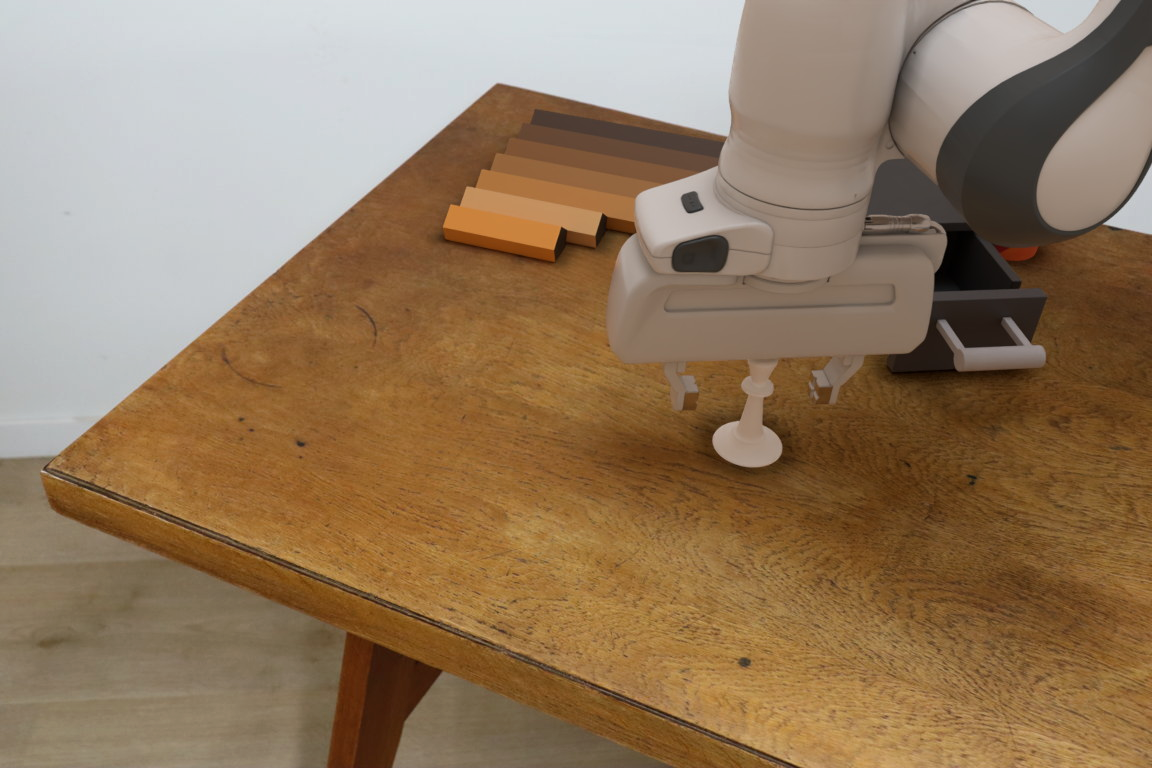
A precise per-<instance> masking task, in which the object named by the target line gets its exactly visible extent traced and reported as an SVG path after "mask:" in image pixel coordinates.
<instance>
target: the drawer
mask: <svg viewBox="0 0 1152 768" xmlns="http://www.w3.org/2000/svg"><path fill="white" fill-rule="evenodd" d="M945 232H946V236H947V246H946V249H945V253H944V256H943V260H942V263H941V265H940V267H939V269H938V270H937V271H936V272H935V273H934V293H933V303H932V309H931V316H930V321H929V326H928V330H927V334H926V337H925V340H924V341H923V342H922V343H921V344H920V345H919V346H917V347H916V348H915V349H914V350H913V351H911V352H910V353H906V354H888V355H887V361H886V364H887V366H888V368H889V369H890V371H891V373H902V372H923V371H924V372H925V371H926V372H927V371H947V370H956V371H957V372H961V373H962V372H979V371H999V370H1000V371H1003V370H1004V371H1005V370H1024V369H1025V370H1026V369H1041V368H1043V367H1044V366H1045V364H1046V361H1047V352H1046V350H1045V348H1044V346H1043V345H1041V344H1032V341H1033V340H1034V339H1033V338H1034V336H1035V333H1036V330H1037V328H1038V325H1039V321H1040V319H1041V316H1042V314H1043V311H1044V309H1045V305H1046V302H1047V300H1048V295H1047V294H1046V293H1045V292H1044V290H1043V289H1042V288H1041V287H1031V288H1021V285H1022V283H1023V280H1022V279H1021V277H1020V276H1019V275H1018V274H1017V273H1016V272H1015V271H1016V270H1014V269H1013V268H1012V267H1011V265H1010V264H1009V262H1008V261H1007V260H1005V259H1004V258H1003V257H1002V256H1001V254H1000V253H999V252H998V251H997V250H996V248H995V247H994V246H993V245H992V244H991V243H990V242H988V241H986V240H984V239H982V238H981V237H980V236H978V235H977V234H976V233H975V232H974V231H945Z"/></svg>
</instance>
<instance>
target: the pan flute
mask: <svg viewBox="0 0 1152 768" xmlns="http://www.w3.org/2000/svg"><path fill="white" fill-rule="evenodd" d="M724 144H725V141H720V140H713V139H708V138H702V137H697V136H690V135H685V134H679V133H673V132H669V131H663V130H657V129H651V128H645V127H641V126H636V125H635V126H634V125H629V124H623V123H617V122H613V121H612V122H611V121H607V120H601V119H595V118H589V117H584V116H578V115H572V114H567V113H560V112H555V111H550V110H545V109H538V108H534V110H533V114H532V117H531V120H530V123H527V122H522V124H521V127H520V130H519V134H518V136H517V138H515V137H509V139H508V142H507V145H506V147H505V151H504V153H499V152H495V155H494V159H493V161H492V164H491V167H490V170H488V169H485V168H481V170H480V173H479V176H478V179H477V182H476V185H475V187H473V186H468V185H466V187H465V190H464V192H463V195H462V196H463V197H462V199H461V202H460V204H459V205H456V204H450V205H449V208H448V211H447V213H446V216H445V219H444V222H443V225H442V230H443V234H444V235H443V236H444V240H447V241H451V242H456V243H461V244H466V245H471V246H475V247H481V248H485V249H490V250H493V251H498V252H499V251H500V252H503V253H509V254H513V255H518V256H524V257H528V258H531V259H533V258H534V259H538V260H542V261H547V262H552V263H556V262H557V260H558V259H559V257H560V256H561V254H562V253H563V252H564V250H565V248H566V245H567V244H566V243H570V244H575V245H579V246H585V247H589V248H593V249H594V248H595V249H597V247H598V246H599V244H600V243H601V241H602V239H603V237H605V234H606V229H607V230H612V231H618V232H623V233H628V234H631V235H634V234H635V233H636V228H635V222H634V202H635V199H636V197H637V196H638V195H639V194H640V193H642V192H643V191H646V190H648V189H651V188H654V187H658V186H661V185H665V184H668V183H671V182H674V181H678V180H681V179H684V178H687V177H690V176H693V175H696V174H698V173H701V172H704V171H706V170H709V169H711V168H714V167H716V166H718V161H719V157H720V153H721V150H722V148H723V146H724Z"/></svg>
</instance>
